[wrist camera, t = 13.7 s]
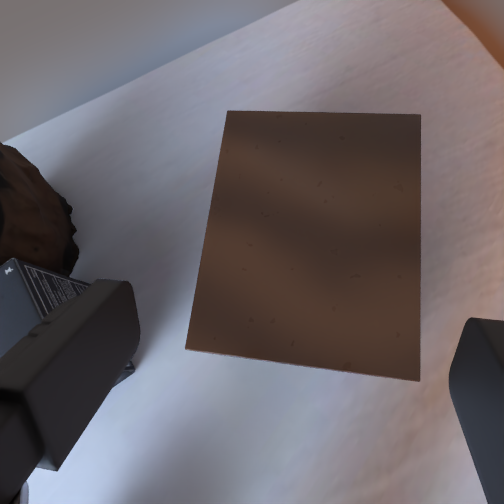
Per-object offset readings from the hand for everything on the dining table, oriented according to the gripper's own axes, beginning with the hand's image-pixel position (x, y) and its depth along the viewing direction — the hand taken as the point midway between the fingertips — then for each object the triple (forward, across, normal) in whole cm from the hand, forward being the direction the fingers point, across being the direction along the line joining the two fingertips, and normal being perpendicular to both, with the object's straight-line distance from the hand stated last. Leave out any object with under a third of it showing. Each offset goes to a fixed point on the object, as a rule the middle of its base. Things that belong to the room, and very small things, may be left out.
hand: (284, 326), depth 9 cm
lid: (+16, 0, +5) cm, 17 cm away
